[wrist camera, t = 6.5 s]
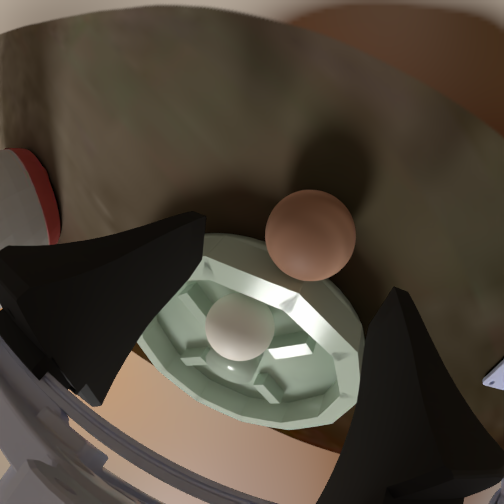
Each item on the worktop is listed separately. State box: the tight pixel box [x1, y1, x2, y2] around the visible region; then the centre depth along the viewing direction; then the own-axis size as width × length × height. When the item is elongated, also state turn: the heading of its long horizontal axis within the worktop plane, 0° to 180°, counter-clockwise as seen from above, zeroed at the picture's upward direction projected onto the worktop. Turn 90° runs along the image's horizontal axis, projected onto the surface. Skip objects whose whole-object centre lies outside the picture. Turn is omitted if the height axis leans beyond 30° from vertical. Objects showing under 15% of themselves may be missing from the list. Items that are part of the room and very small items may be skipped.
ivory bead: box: [205, 293, 275, 361], centre depth 16 cm, size 4×4×4 cm
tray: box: [137, 233, 365, 430], centre depth 20 cm, size 18×18×3 cm
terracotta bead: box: [265, 190, 356, 281], centre depth 12 cm, size 4×4×4 cm
